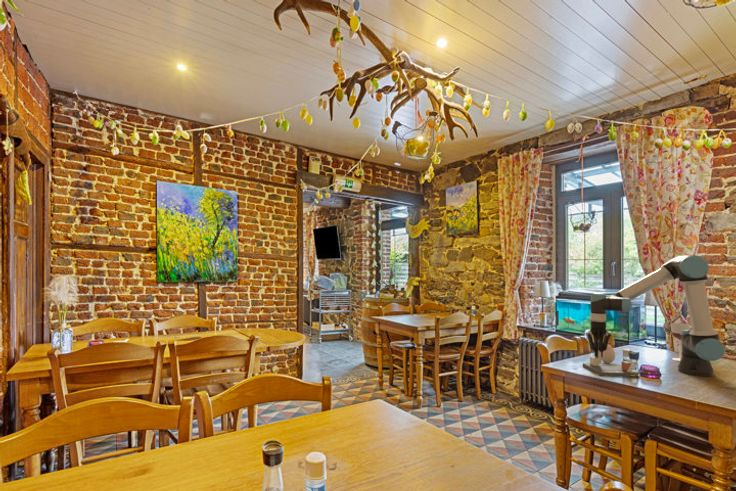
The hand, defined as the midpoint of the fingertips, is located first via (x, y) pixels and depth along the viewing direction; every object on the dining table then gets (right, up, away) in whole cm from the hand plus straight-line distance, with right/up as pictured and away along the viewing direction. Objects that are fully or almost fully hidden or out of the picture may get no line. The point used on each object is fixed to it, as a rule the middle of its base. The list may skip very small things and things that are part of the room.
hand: (598, 362), depth 222 cm
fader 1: (-2, -1, 0) cm, 2 cm away
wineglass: (+64, -5, +22) cm, 68 cm away
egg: (+12, -4, +12) cm, 17 cm away
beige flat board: (+3, -3, -5) cm, 7 cm away
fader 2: (+10, -1, -9) cm, 14 cm away
